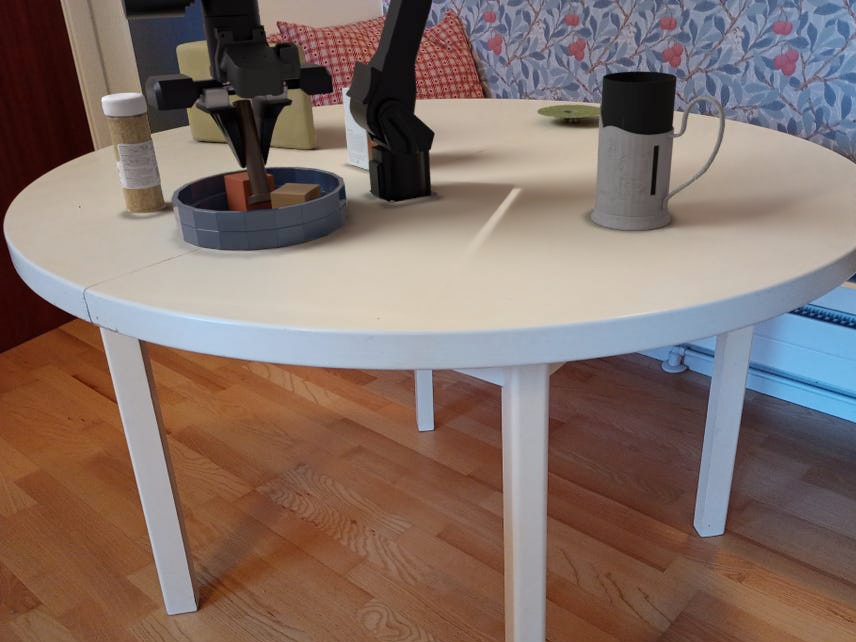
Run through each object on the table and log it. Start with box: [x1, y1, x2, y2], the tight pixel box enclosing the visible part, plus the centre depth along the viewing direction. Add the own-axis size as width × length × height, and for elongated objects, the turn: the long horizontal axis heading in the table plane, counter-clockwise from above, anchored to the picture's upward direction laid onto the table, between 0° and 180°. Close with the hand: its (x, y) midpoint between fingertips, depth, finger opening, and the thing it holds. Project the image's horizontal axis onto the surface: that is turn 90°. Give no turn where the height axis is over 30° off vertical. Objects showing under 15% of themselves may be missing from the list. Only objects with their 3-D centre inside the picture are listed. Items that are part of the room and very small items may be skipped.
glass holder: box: [590, 70, 726, 231], centre depth 86 cm, size 9×14×15 cm, turn 49°
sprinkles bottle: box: [101, 92, 167, 214], centre depth 95 cm, size 5×5×14 cm
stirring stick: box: [232, 99, 271, 205], centre depth 90 cm, size 3×3×11 cm
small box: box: [341, 87, 379, 171], centre depth 114 cm, size 8×6×10 cm
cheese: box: [176, 39, 317, 150], centre depth 127 cm, size 22×10×15 cm, turn 59°
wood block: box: [270, 183, 321, 209], centre depth 89 cm, size 4×4×4 cm
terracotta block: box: [224, 172, 275, 211], centre depth 94 cm, size 4×4×4 cm
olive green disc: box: [536, 104, 600, 124], centre depth 138 cm, size 11×11×2 cm
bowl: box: [170, 166, 349, 251], centre depth 90 cm, size 18×18×4 cm
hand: (253, 166), depth 91 cm, fingers closed on stirring stick, 2 cm apart
